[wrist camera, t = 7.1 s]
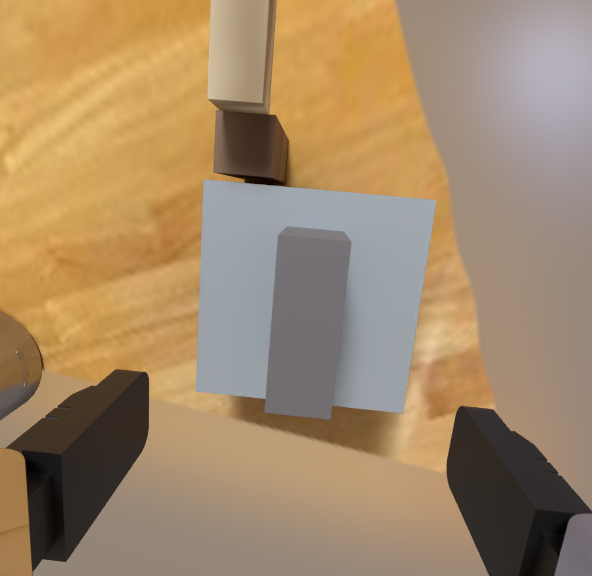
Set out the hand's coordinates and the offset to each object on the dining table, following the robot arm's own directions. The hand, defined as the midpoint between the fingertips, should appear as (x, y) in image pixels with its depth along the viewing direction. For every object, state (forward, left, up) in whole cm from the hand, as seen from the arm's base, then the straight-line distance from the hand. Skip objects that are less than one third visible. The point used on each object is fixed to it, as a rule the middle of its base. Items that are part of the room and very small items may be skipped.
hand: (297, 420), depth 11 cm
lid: (0, 0, -14) cm, 14 cm away
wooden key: (-4, +12, -12) cm, 18 cm away
